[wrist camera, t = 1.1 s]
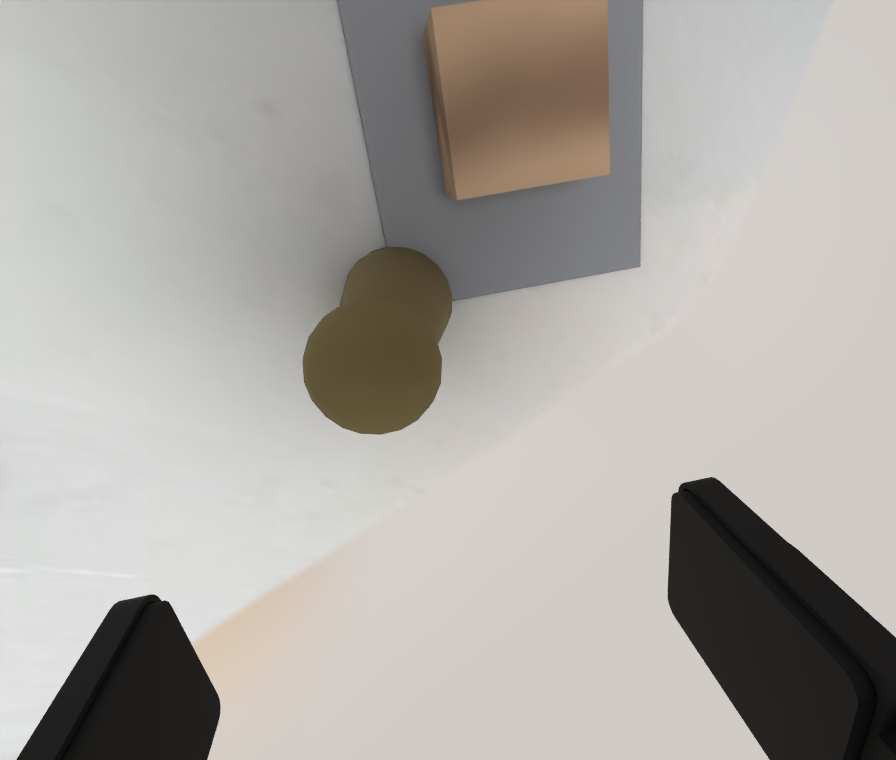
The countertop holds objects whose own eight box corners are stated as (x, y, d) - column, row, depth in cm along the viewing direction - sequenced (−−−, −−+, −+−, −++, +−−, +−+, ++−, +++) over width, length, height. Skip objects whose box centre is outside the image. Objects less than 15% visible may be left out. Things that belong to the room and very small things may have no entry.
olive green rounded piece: (350, 235, 26) (285, 284, 16) (463, 259, 26) (470, 322, 16) (337, 342, 28) (273, 444, 18) (440, 362, 28) (434, 473, 18)
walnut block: (422, 34, 22) (430, 7, 19) (570, 12, 23) (607, -19, 19) (446, 196, 25) (457, 200, 22) (577, 173, 26) (609, 174, 22)
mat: (316, -109, 20) (315, -114, 20) (640, -152, 21) (644, -157, 21) (399, 308, 28) (399, 310, 27) (636, 265, 28) (640, 266, 28)
